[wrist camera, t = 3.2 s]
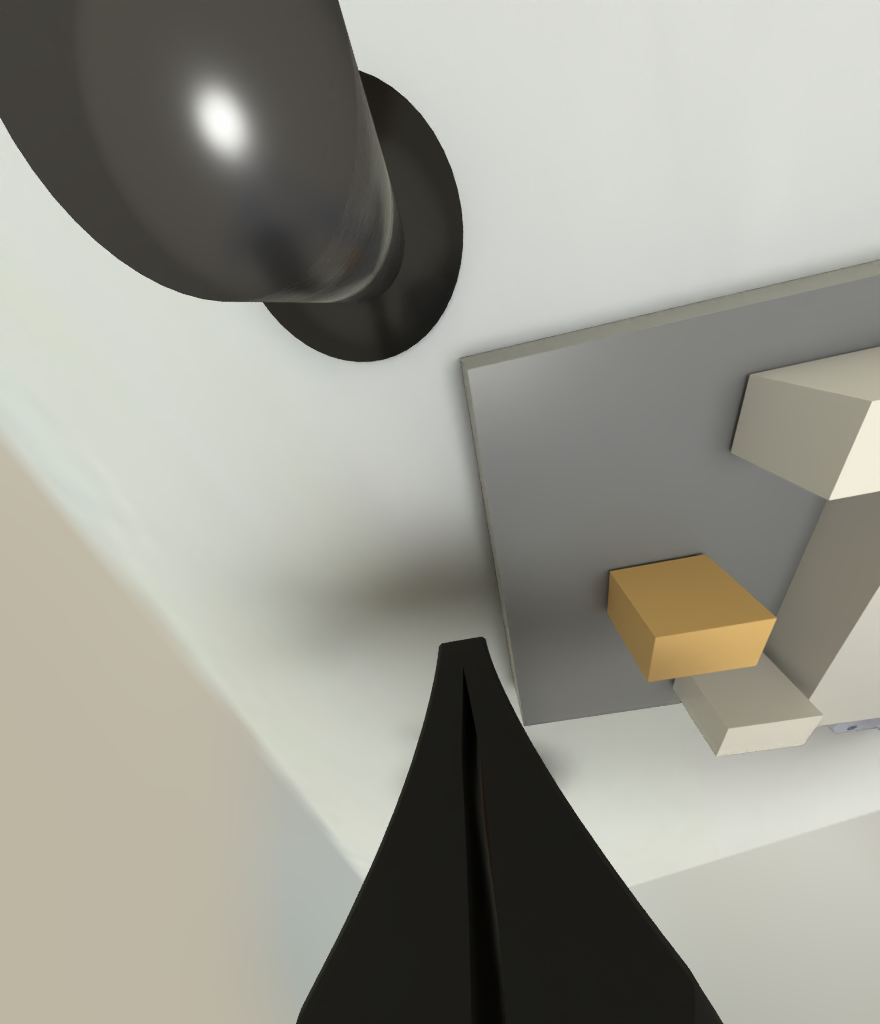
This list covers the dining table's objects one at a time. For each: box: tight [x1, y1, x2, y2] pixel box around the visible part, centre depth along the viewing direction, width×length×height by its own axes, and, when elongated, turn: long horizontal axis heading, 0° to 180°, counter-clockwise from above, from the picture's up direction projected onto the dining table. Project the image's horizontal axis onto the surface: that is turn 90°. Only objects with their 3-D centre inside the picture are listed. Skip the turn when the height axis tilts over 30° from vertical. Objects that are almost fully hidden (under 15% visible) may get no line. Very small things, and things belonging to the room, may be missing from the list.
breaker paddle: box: [607, 554, 777, 682], centre depth 10 cm, size 3×2×3 cm, turn 102°
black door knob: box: [0, 0, 463, 362], centre depth 5 cm, size 5×5×7 cm
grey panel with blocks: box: [460, 260, 880, 757], centre depth 11 cm, size 14×16×5 cm
